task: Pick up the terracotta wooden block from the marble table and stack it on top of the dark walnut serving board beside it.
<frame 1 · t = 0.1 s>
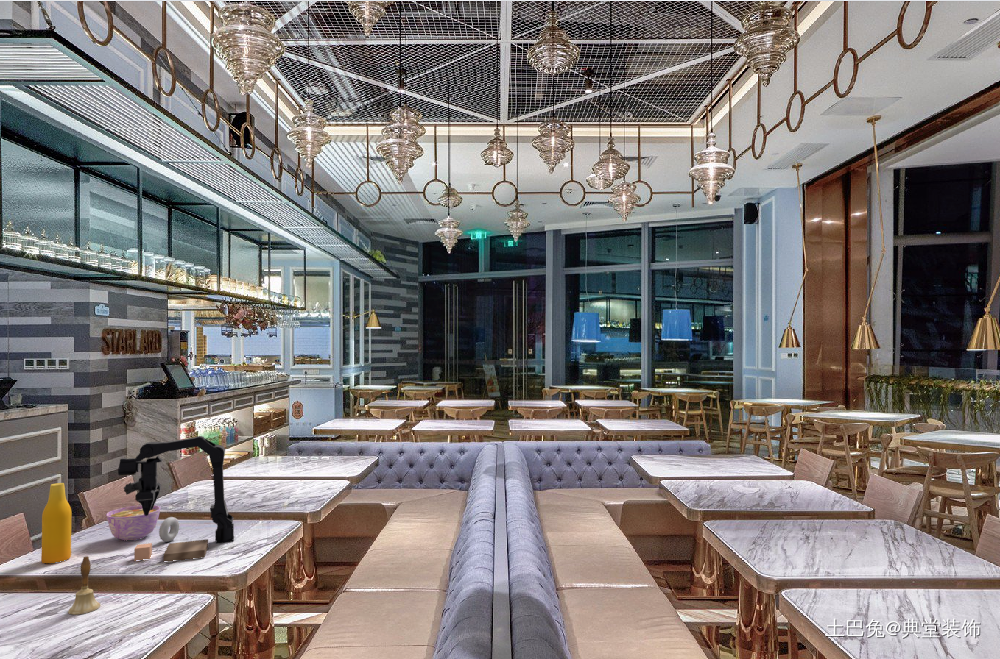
hand: (148, 512, 241), 15 cm above the table, tool pointing down, fingers open, 9 cm apart
terracotta block: (143, 558, 230), on the table
hand bell: (84, 609, 185), on the table
walnut base: (186, 554, 234), on the table
donut: (169, 541, 251), on the table
bowl of food: (133, 538, 255), on the table
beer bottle: (56, 560, 229), on the table
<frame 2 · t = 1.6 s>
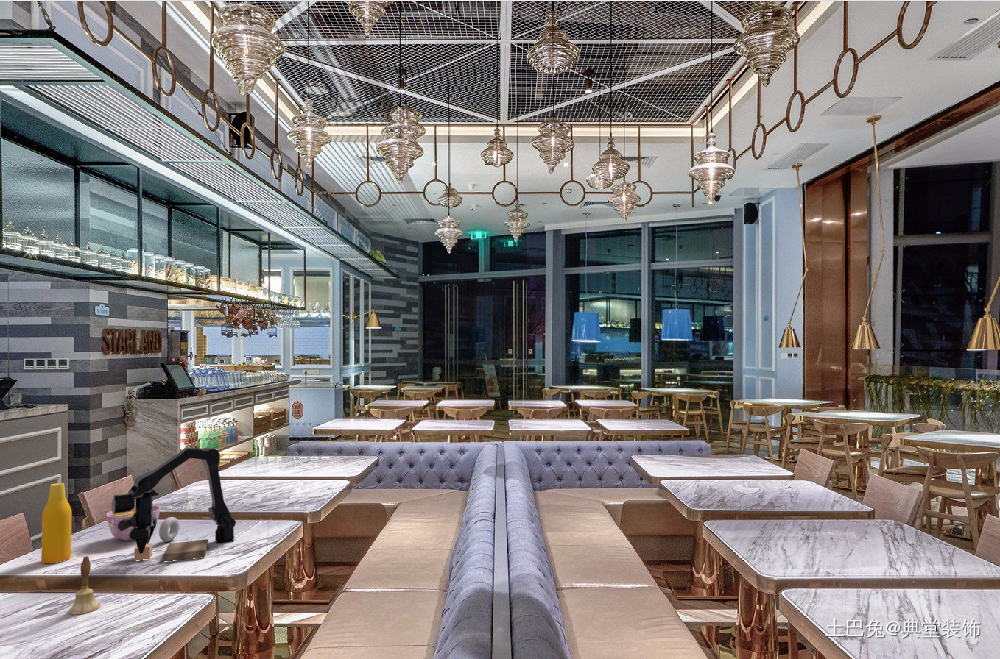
hand: (143, 549, 230), 3 cm above the table, tool pointing down, fingers open, 9 cm apart
nothing on the table moved.
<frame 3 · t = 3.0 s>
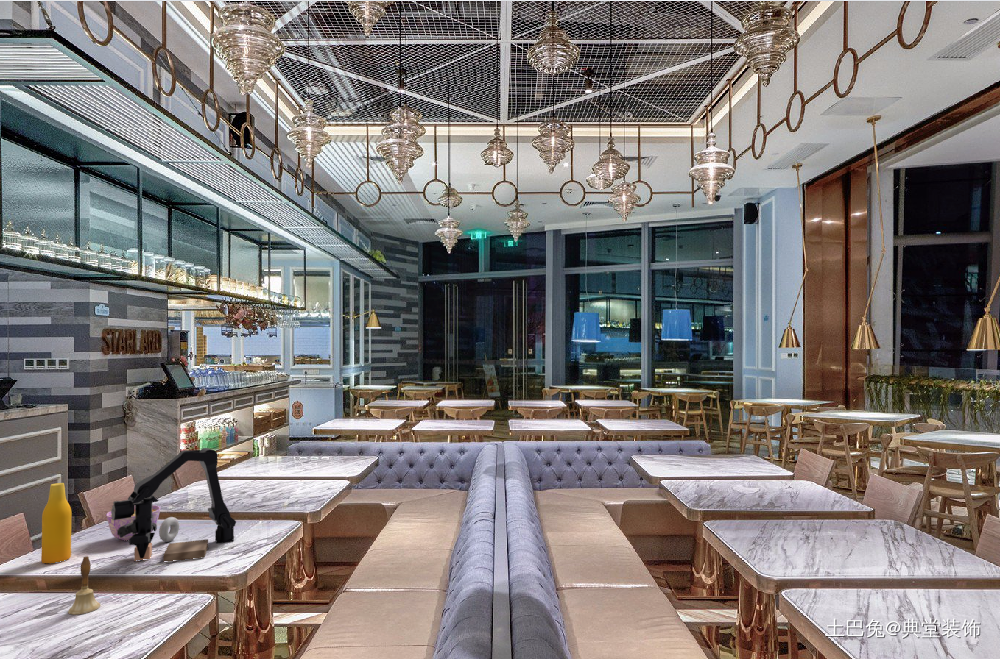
hand: (143, 555, 230), 1 cm above the table, tool pointing down, fingers closed on terracotta block, 5 cm apart
terracotta block: (143, 558, 230), on the table, touching gripper
everything else where it was.
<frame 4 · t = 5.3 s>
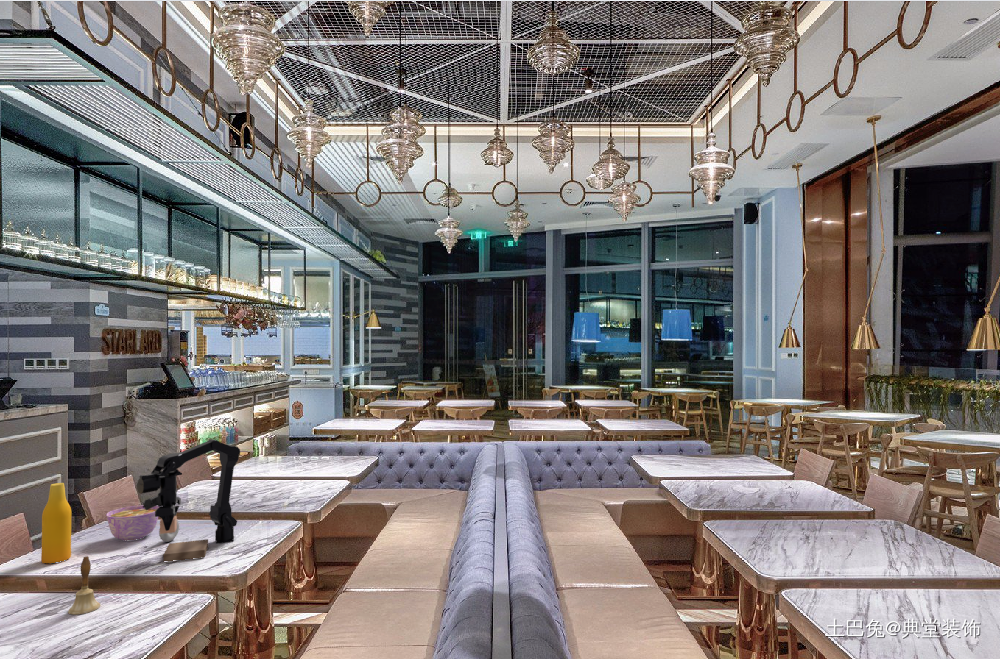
hand: (168, 528, 233), 11 cm above the table, tool pointing down, fingers closed on terracotta block, 5 cm apart
terracotta block: (168, 531, 233), point 10 cm above the table, touching gripper
everything else where it was.
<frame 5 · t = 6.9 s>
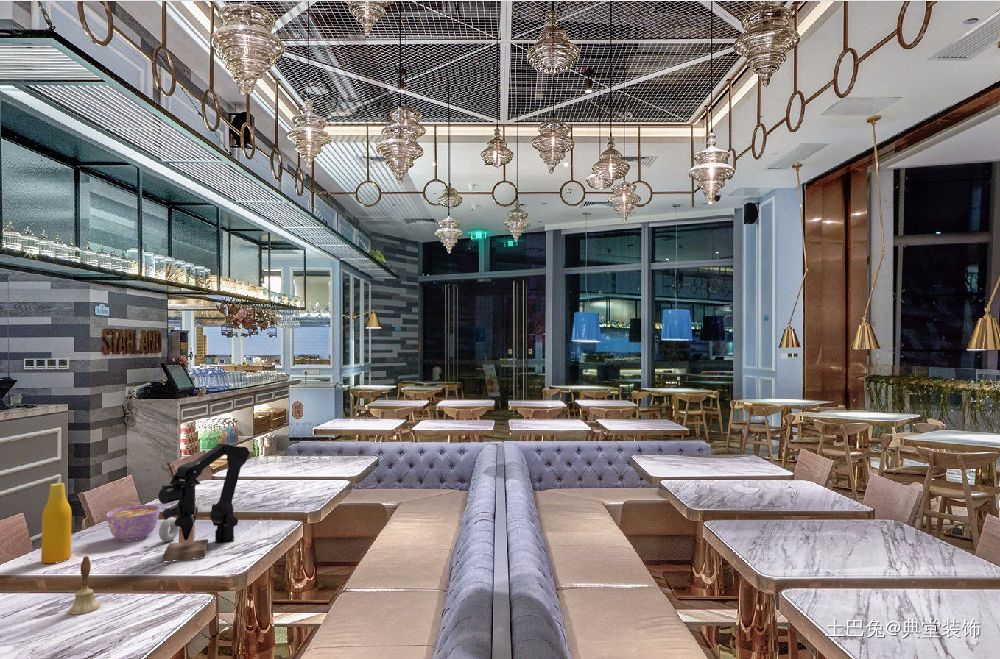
hand: (186, 537, 234), 6 cm above the table, tool pointing down, fingers closed on terracotta block, 5 cm apart
terracotta block: (186, 540, 234), point 5 cm above the table, touching gripper
everything else where it was.
when the fingers open (5 cm above the table, at t = 7.9 s): terracotta block drops 1 cm, resting on walnut base.
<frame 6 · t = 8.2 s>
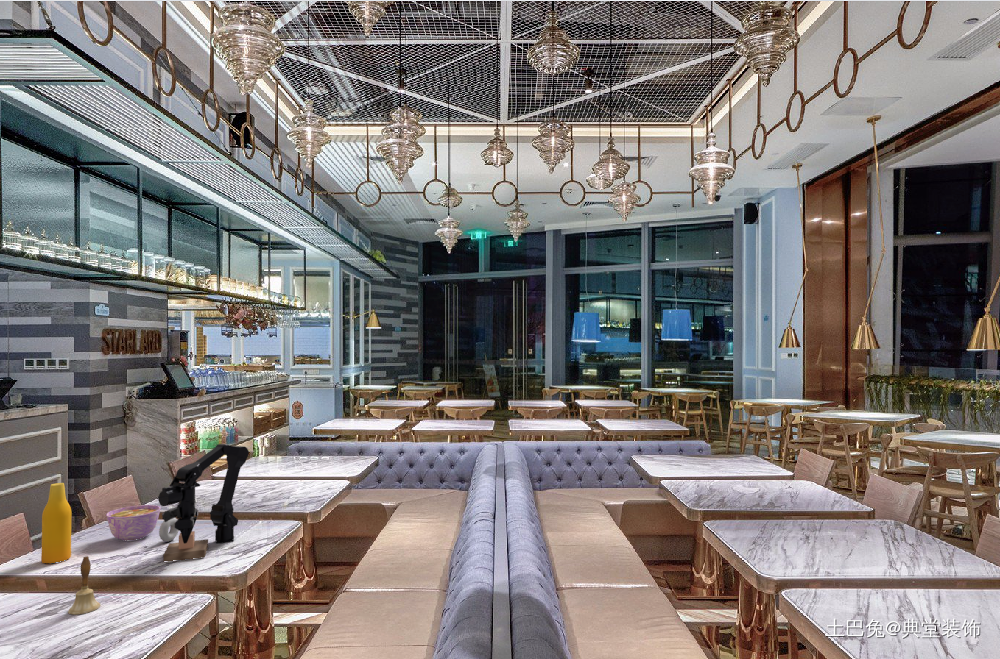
hand: (186, 540, 234), 5 cm above the table, tool pointing down, fingers open, 8 cm apart
terracotta block: (186, 546, 234), point 3 cm above the table, touching walnut base
everything else where it was.
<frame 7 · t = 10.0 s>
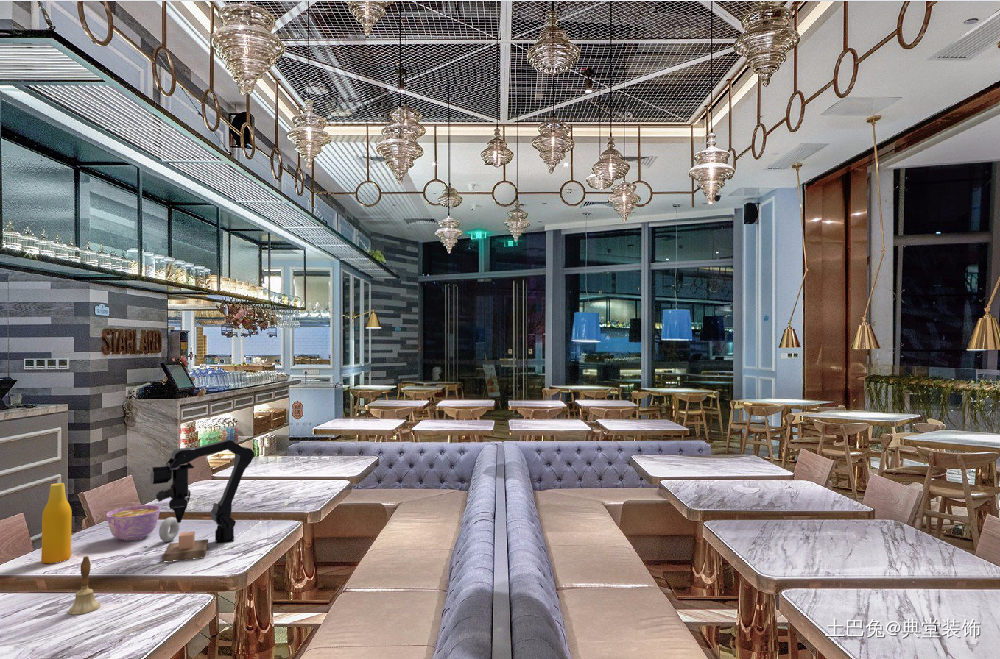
hand: (180, 519, 240), 12 cm above the table, tool pointing down, fingers open, 9 cm apart
nothing on the table moved.
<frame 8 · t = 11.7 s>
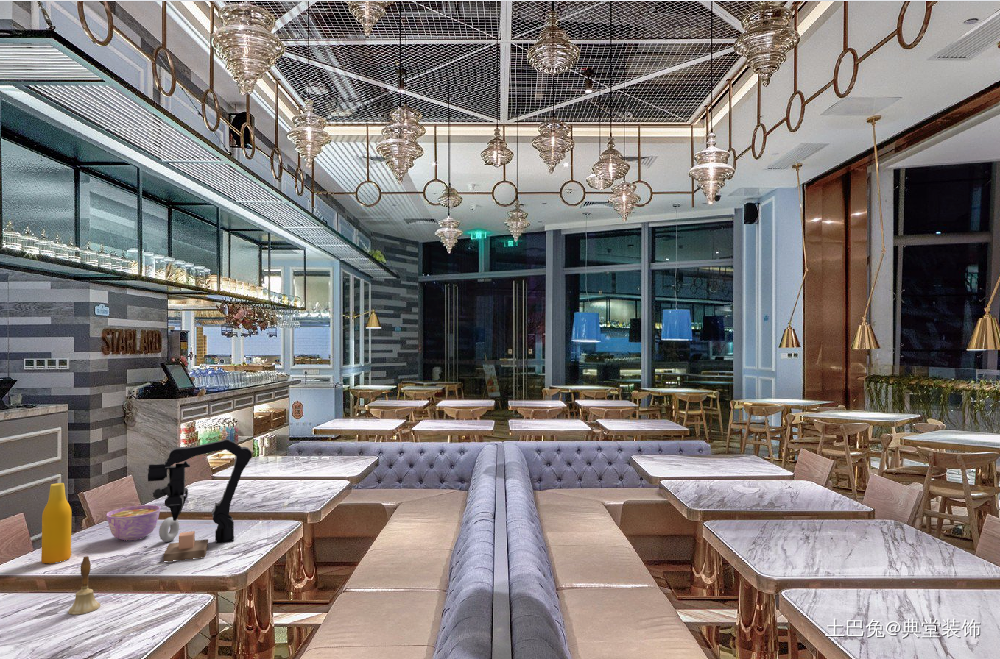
hand: (176, 517, 243), 12 cm above the table, tool pointing down, fingers open, 9 cm apart
nothing on the table moved.
at the end: terracotta block inside the target area on the walnut base (0.0 cm from its centre), point 3.0 cm above the walnut base's base; terracotta block touching walnut base; the gripper is holding nothing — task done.
